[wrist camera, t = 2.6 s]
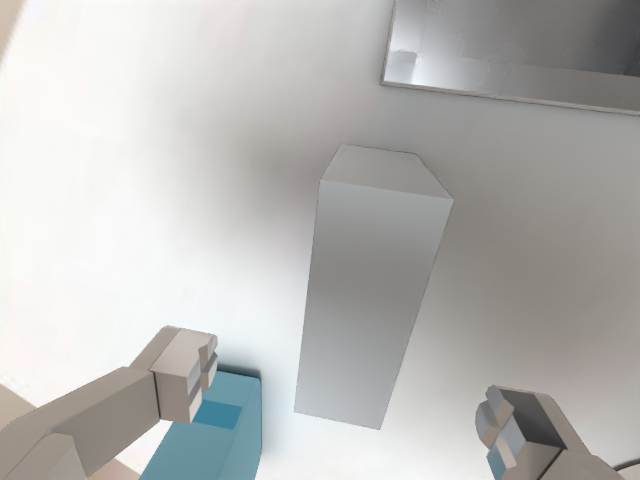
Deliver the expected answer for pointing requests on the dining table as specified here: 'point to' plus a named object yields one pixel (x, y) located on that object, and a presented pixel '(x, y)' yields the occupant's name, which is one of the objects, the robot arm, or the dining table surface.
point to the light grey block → (366, 280)
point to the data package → (214, 435)
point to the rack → (519, 51)
